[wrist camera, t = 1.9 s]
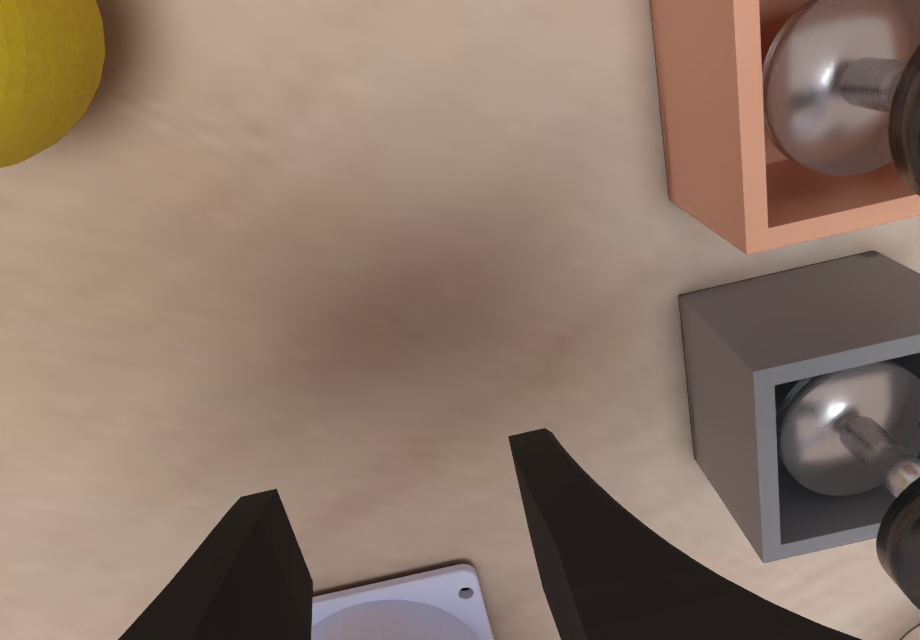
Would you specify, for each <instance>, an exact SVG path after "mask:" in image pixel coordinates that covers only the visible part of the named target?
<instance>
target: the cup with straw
mask: <svg viewBox="0 0 920 640" xmlns="http://www.w3.org/2000/svg"><path fill="white" fill-rule="evenodd" d="M902 640H920V625H919V626H917V627H916V628H915V629H913V630H912V631H910V632H909V633H908V634H907V635H906V636H905V637H904V638H903V639H902Z"/></svg>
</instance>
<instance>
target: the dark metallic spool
mask: <svg viewBox="0 0 920 640" xmlns="http://www.w3.org/2000/svg"><path fill="white" fill-rule="evenodd" d="M762 87H763V112H764V128H765V130H766V133H767V134H768V136H769V138H770V139H771V141H772V143H773V144H774V145H775V146H776V147H777V149H778V150H779V151H780V152H781V153H782V154H784V155H785V156H786V157H787V158H789V159H790V160H792V161H794V162H795V163H798V164H800V165H802V166H805V167H807V168H810V169H812V170H815V171H817V172H821V173H825V174H828V175H837V176H846V175H856V174H862V173H866V172H869V171H872V170H875V169H878V168H880V167H882V166H885V165H886V164H888V163H890V162H892V161H893V162H894V165H895V167H896V169H897V171H898V173H899V175H900V177H901V178H902V179H903V181H904V182H905V183H906V185H907V186H908V187H909V188H910V189H911V190H912V191H913V192H914V193H915V194H917V195H918V196H920V0H808V1H807V2H806V3H804V4H803V5H802V6H801V7H800V8H799V9H798V10H797V11H796V12H795V13H794V14H793V15H792V16H791V17H790V18H789V19H788V20H787V22H786V23H785V24H784V25H783V26H782V28H781V29H780V31H779V33H778V34H777V36H776V37H775V39H774V41H773V43H772V45H771V47H770V48H769V51H768V53H767V56H766V58H765V61H764V64H763V68H762Z"/></svg>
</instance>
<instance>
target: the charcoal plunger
mask: <svg viewBox="0 0 920 640" xmlns="http://www.w3.org/2000/svg"><path fill="white" fill-rule="evenodd" d="M776 436H777V456H778V458H779V459H780V461H781V462H782V464H783V465H784V466H785V467H786V469H787V470H788V471H789V472H790V473H791V474H792V476H793V477H794V478H795V479H796V480H797V481H798V482H799V483H800V484H802V485H803V486H804V487H806V488H808V489H810V490H812V491H814V492H817V493H820V494H825V495H833V496H844V495H852V494H858V493H862V492H865V491H868V490H871V489H873V488H876V487H878V486H880V485H882V484H883V485H884V486H885V487H886V488H887V489H888V490H889V491H890V492H891V493H892V494H893V495H894V496H895V497H896V499H895V500H894V501H893V503H892V504H891V505H890V507H889V508H888V510H887V512H886V513H885V515H884V517H883V519H882V521H881V524H880V526H879V530H878V534H877V541H876V548H877V555H878V559H879V561H880V564H881V566H882V567H883V569H884V570H885V572H886V573H887V574H888V575H889V576H890V577H891V579H892V580H893V581H894V582H895V583H896V584H897V586H898V587H899V588H900V589H901V590H902V591H903V592H904V594H905V595H906V596H907V597H908V598H909V599H910V601H911V602H912V603H913V604H914V605H915V606H916V607H917V608H918V609H920V460H919V459H918V458H917V455H918V454H919V452H920V379H919V378H917V377H916V376H915V375H914V374H912V373H911V372H909V371H908V370H907V369H905V368H904V367H902V366H901V365H900V364H898V363H896V362H894V361H893V360H890V359H889V360H884V361H880V362H876V363H871V364H867V365H862V366H858V367H853V368H849V369H845V370H840V371H836V372H831V373H827V374H823V375H818V376H814V377H809V378H805V379H801V380H800V381H799V382H798V383H797V384H796V385H795V386H794V387H793V388H792V390H791V391H790V392H789V393H788V395H787V396H786V398H785V399H784V401H783V402H782V404H781V406H780V408H779V410H778V412H777V415H776Z"/></svg>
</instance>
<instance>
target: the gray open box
mask: <svg viewBox="0 0 920 640" xmlns="http://www.w3.org/2000/svg"><path fill="white" fill-rule="evenodd" d="M678 296H679V306H680V316H681V327H682V337H683V347H684V358H685V368H686V378H687V389H688V399H689V409H690V420H691V430H692V440H693V451H694V459H695V460H696V462H697V463H698V465H699V466H700V468H701V469H702V471H703V472H704V474H705V475H706V477H707V478H708V480H709V481H710V483H711V484H712V486H713V487H714V489H715V490H716V492H717V494H718V495H719V497H720V498H721V500H722V501H723V503H724V504H725V506H726V507H727V509H728V510H729V512H730V513H731V515H732V516H733V518H734V519H735V521H736V522H737V524H738V525H739V527H740V528H741V530H742V532H743V533H744V535H745V536H746V538H747V539H748V541H749V542H750V544H751V545H752V547H753V548H754V550H755V551H756V553H757V554H758V556H759V557H760V559H761V560H762V562H763V563H767V562H771V561H776V560H780V559H785V558H789V557H793V556H798V555H802V554H807V553H811V552H816V551H820V550H825V549H829V548H834V547H838V546H843V545H847V544H852V543H856V542H861V541H865V540H870V539H874V538H877V534H878V530H879V526H880V524H881V521H882V519H883V517H884V515H885V513H886V512H887V510H888V508H889V507H890V505H891V504H892V503H893V501H894V500H895V499H896V497H895V496H894V495H893V494H892V493H891V492H890V491H889V490H888V489H887V488H886V487H885V486H884V485H883V484H882V485H880V486H878V487H876V488H873V489H871V490H868V491H865V492H862V493H858V494H852V495H844V496H833V495H825V494H820V493H817V492H814V491H812V490H810V489H808V488H806V487H804V486H803V485H802V484H800V483H799V482H798V481H797V480H796V479H795V478H794V477H793V476H792V474H791V473H790V472H789V471H788V470H787V469H786V467H785V466H784V465H783V464H782V462H781V461H780V459H779V458H778V456H777V436H776V415H777V412H778V410H779V408H780V406H781V404H782V402H783V401H784V399H785V398H786V396H787V395H788V393H789V392H790V391H791V390H792V388H793V387H794V386H795V385H796V384H797V383H798V382H799V381H800V380H801V379H805V378H809V377H814V376H818V375H823V374H827V373H831V372H836V371H840V370H845V369H849V368H853V367H858V366H862V365H867V364H871V363H876V362H880V361H884V360H889V359H890V360H893V361H894V362H896V363H898V364H900V365H901V366H902V367H904V368H905V369H907V370H908V371H909V372H911V373H912V374H914V375H915V376H916V377H917V378H919V379H920V274H919V273H917V272H915V271H913V270H911V269H909V268H907V267H905V266H904V265H902V264H900V263H898V262H896V261H894V260H892V259H890V258H888V257H886V256H884V255H882V254H880V253H878V252H876V251H871V252H867V253H862V254H858V255H853V256H849V257H845V258H840V259H836V260H832V261H827V262H823V263H818V264H814V265H810V266H805V267H801V268H796V269H792V270H788V271H783V272H779V273H775V274H770V275H766V276H761V277H757V278H753V279H748V280H744V281H739V282H735V283H731V284H726V285H722V286H718V287H713V288H709V289H704V290H700V291H696V292H691V293H687V294H682V295H678ZM917 458H918V459H919V460H920V452H919V454H918V455H917Z"/></svg>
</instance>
